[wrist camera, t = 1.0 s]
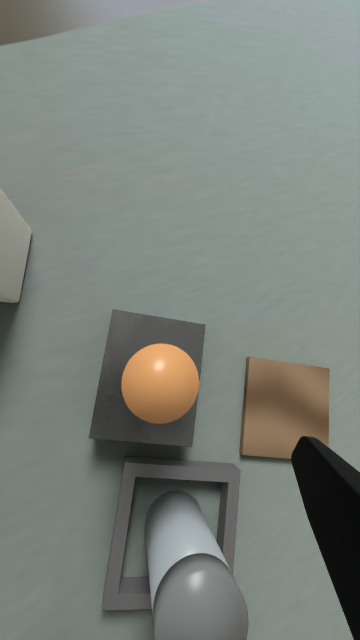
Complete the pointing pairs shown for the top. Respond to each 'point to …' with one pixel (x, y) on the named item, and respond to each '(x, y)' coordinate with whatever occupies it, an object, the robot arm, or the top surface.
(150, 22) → the top surface
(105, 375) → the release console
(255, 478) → the top surface
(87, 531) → the top surface
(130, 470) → the collar
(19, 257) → the medicine bottle
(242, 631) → the cylinder
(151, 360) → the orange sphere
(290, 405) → the walnut pad
